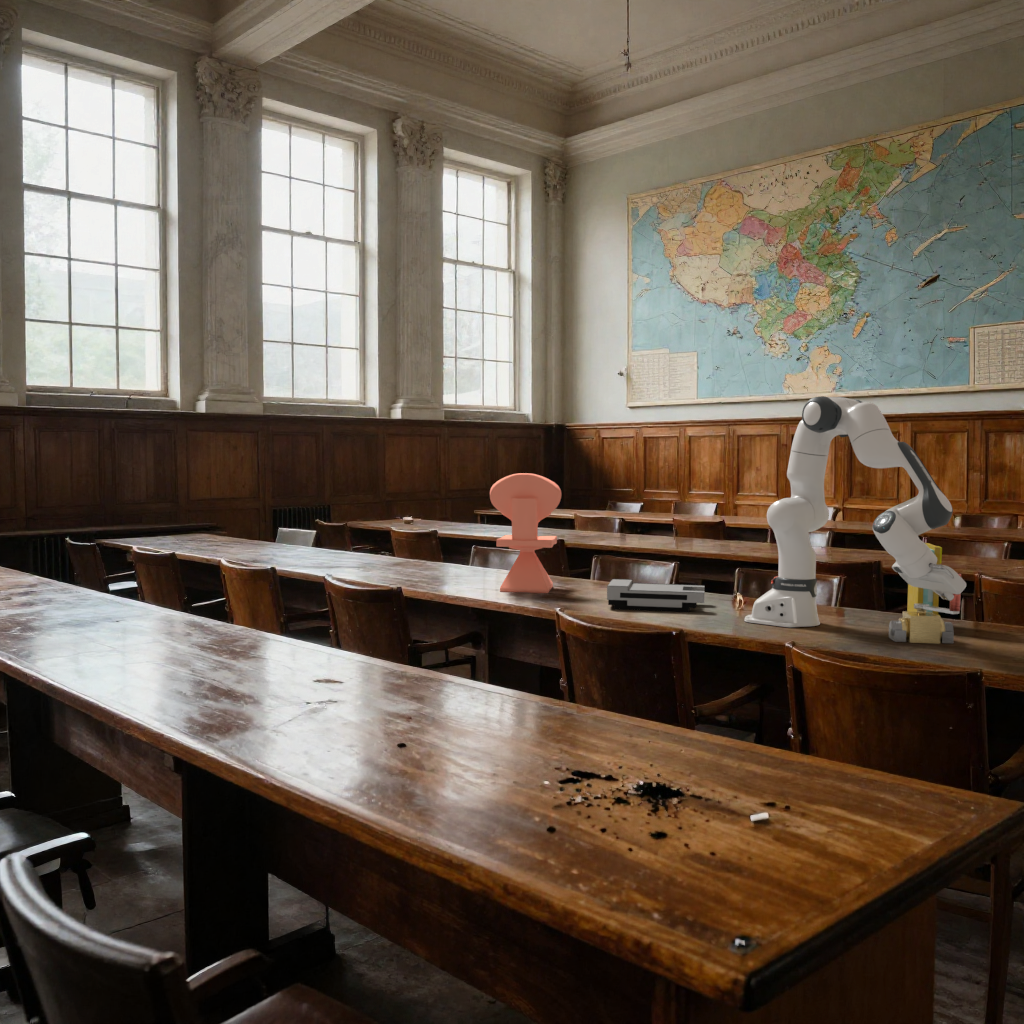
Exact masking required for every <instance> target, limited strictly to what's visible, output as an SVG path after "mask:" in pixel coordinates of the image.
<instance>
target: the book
mask: <svg viewBox="0 0 1024 1024" xmlns="http://www.w3.org/2000/svg"><path fill="white" fill-rule="evenodd" d="M924 543H925V544H926V545H927V546H928V547H929V548H930V550H931V551H932V552H933V553H934V554H935V556H936V557H937V563H936V564H937V565H942V563H943V562H942V559H943V558H942V556H943V555H942V553H943V547H941V546H939V545H934V544H932V543H929V542H924ZM939 597H940V596H939V595H938V594H936V593H935V592H933V591H932V590H930V589H925V588H919V587H913V586H911V585H909V584H908V583H907V607H906V608H907V610H906V611H908V612H917V609H914V604H915V603H923V604H929V606H934V607H939V601H940V600H939ZM926 612H933V613H935V614H937V615H939V616H941V615H940V614H939V612H938V611H932V610H926Z"/></svg>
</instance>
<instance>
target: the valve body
mask: <svg viewBox="0 0 1024 1024" xmlns="http://www.w3.org/2000/svg"><path fill="white" fill-rule="evenodd" d="M939 615H940V614H938V615H937V614H935V613H933V612H926V610H920V609H917V612H908V611H907V610H905V611H904V610H903V611H902V617H899V618H898V620H890V621H889V625H888V639H890V640H891V641H892V642H896V643H897V642H899V643H901V642H902V643H906V642H908V643H911V644H912V643H913V644H938V645H940V644H954V640H955V636H954V635H955V633H954V632H955V631H954V624H953V622H951V621H944V619H943V618H942V617H941V615H940V616H939Z"/></svg>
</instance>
